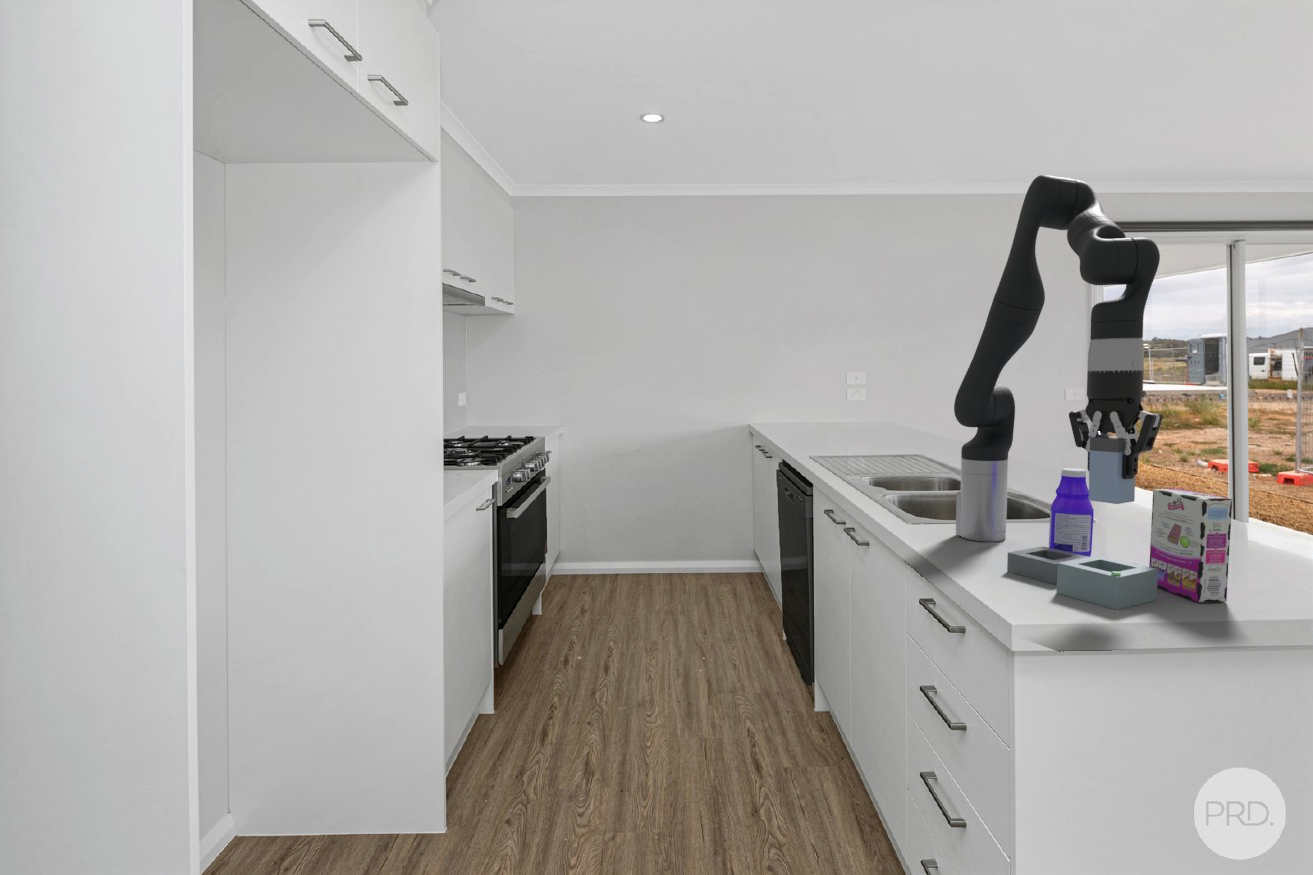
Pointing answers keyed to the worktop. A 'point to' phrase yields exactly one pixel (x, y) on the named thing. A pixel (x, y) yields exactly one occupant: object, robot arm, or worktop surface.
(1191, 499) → the candy bar box
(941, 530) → the worktop surface
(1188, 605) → the worktop surface
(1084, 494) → the bottle
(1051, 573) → the holster
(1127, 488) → the plug
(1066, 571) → the port
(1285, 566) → the worktop surface
